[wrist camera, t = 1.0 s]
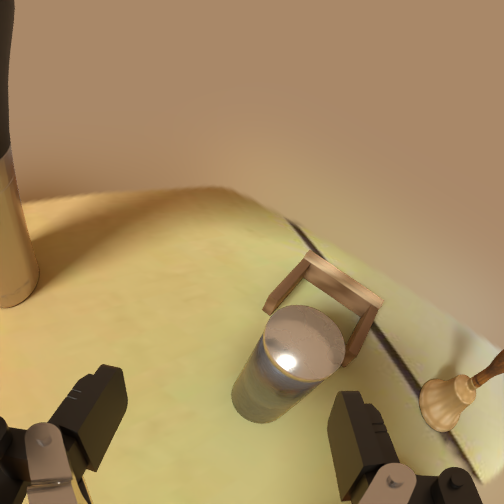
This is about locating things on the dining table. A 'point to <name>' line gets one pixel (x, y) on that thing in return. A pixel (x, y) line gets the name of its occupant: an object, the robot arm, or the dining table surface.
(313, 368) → the tin
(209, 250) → the dining table surface
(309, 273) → the wooden u-shaped bracket
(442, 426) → the hand bell
